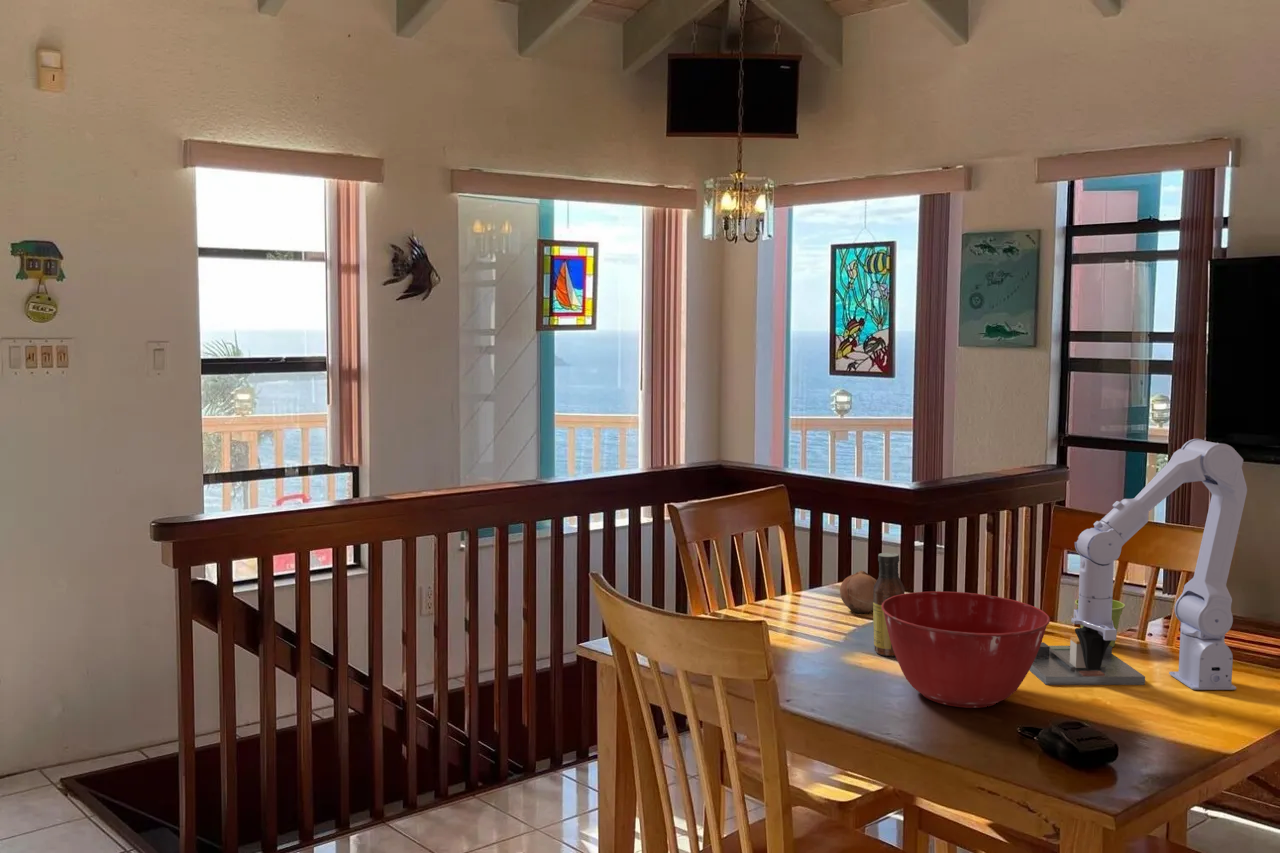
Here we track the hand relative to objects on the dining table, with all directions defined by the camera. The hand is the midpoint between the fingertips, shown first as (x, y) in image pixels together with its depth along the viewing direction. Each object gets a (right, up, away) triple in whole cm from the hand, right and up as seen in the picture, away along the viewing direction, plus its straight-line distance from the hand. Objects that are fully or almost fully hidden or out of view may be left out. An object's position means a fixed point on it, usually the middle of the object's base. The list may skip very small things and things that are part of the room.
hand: (1092, 668), depth 213 cm
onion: (-33, +2, +51) cm, 61 cm away
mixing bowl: (-26, -3, -7) cm, 27 cm away
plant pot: (+11, -1, +25) cm, 27 cm away
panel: (0, -2, +9) cm, 9 cm away
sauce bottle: (-33, -1, +18) cm, 38 cm away
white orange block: (0, 0, +4) cm, 4 cm away
